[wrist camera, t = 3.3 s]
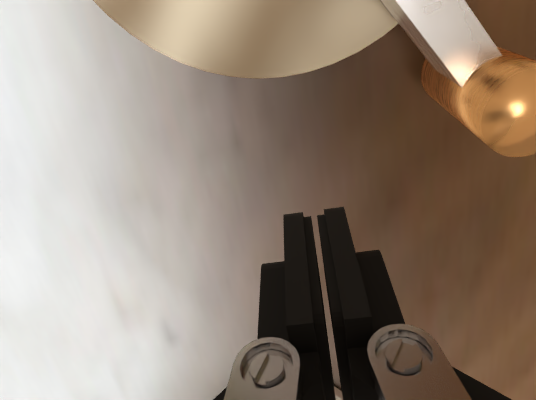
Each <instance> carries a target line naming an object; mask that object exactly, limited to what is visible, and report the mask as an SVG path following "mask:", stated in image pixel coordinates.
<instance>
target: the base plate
mask: <svg viewBox="0 0 536 400" xmlns="http://www.w3.org/2000/svg"><path fill="white" fill-rule="evenodd" d="M93 1H94V2H95V3H96V4H97V5H98V6H99V7H100V8H101V9H102V10H103V11H104V12H105V13H106V14H107V15H108V16H109V17H110V18H112V19H113V20H114V21H115V22H116V23H118V24H119V25H120V26H121V27H122V28H124V29H125V30H126V31H127V32H128V33H130V34H131V35H133V36H134V37H136V38H137V39H139V40H140V41H142V42H143V43H145V44H146V45H148V46H149V47H151V48H152V49H154V50H156V51H158V52H160V53H162V54H164V55H166V56H168V57H170V58H172V59H174V60H176V61H178V62H180V63H183V64H186V65H189V66H192V67H194V68H197V69H200V70H203V71H206V72H211V73H216V74H221V75H225V76H230V77H242V78H256V79H258V78H275V77H286V76H291V75H296V74H301V73H306V72H310V71H313V70H316V69H319V68H322V67H325V66H328V65H331V64H334V63H336V62H338V61H340V60H342V59H345V58H347V57H349V56H351V55H353V54H355V53H357V52H359V51H361V50H362V49H364V48H365V47H367V46H368V45H370V44H372V43H373V42H375V41H376V40H378V39H379V38H381V37H382V36H384V35H385V34H386V33H388V32H389V31H390V30H391V29H392V28H394V27H395V26H396V25H397V24H398V22H397V20H396V19H395V18H394V17H393V15H392V14H391V13H390V11H389V10H388V9H387V8H386V6H385V5H384V4H383V2H382V1H381V0H93Z"/></svg>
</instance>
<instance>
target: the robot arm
mask: <svg viewBox="0 0 536 400" xmlns="http://www.w3.org/2000/svg"><path fill="white" fill-rule="evenodd" d="M324 214H325V215H318V216H317V218H318V226H319V233H320V241H321V248H322V256H323V263H324V271H325V278H326V286H327V293H328V300H329V307H330V314H331V321H332V328H333V335H334V341H335V348H336V355H337V362H338V369H339V376H340V383H341V389H342V391H340V390H339V389H338V388H336V387H335V386H334V383H333V375H332V367H331V359H330V352H329V344H328V336H327V329H326V321H325V313H324V305H323V298H322V290H321V283H320V276H319V269H318V262H317V255H316V248H315V241H314V234H313V227H312V220H311V216H310V217H303V212H301V213H294V214H286V215H284V259H285V261H283V262H275V263H266V264H262V267H261V282H260V302H259V321H258V340H255V341H252V342H251V343H249V344H248V345H246V346H245V347H244V348H243V349H242V350H241V351H240V352H239V353H238V355H237V357H236V359H235V361H234V364H233V367H232V371H231V375H230V378H229V382H228V386H227V387H226V388H225V389H224V390H223V391H222V392H221V393H220V394H219V395H218V396H217V397H216V398H215V399H213V400H511V399H510V398H508V397H506V396H504V395H502V394H501V393H499V392H497V391H495V390H493V389H491V388H490V387H488V386H486V385H484V384H482V383H481V382H479V381H477V380H475V379H473V378H472V377H470V376H468V375H466V374H464V373H462V372H461V371H459V370H457V369H455V368H453V367H452V366H451V365H450V363H449V361H448V360H447V358H446V356H445V355H444V353H443V352H442V350H441V348H440V347H439V345H438V343H437V342H436V341H435V340H434V339H433V337H432V336H431V335H429V334H428V333H427V332H425V331H424V330H422V329H420V328H417V327H415V326H412V325H406V324H405V322H404V319H403V316H402V313H401V310H400V307H399V305H398V302H397V299H396V296H395V293H394V290H393V287H392V284H391V281H390V278H389V275H388V272H387V269H386V267H385V264H384V261H383V258H382V255H381V252H380V251H379V250H373V251H365V252H357V253H355V249H354V245H353V241H352V237H351V233H350V229H349V226H348V222H347V218H346V214H345V210H344V207H339V208H331V209H324Z"/></svg>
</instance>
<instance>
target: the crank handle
mask: <svg viewBox="0 0 536 400" xmlns="http://www.w3.org/2000/svg"><path fill="white" fill-rule="evenodd" d="M381 1H382V2H383V4H384V5H385V6H386V8H387V9H388V10H389V11H390V13H391V14H392V15H393V17H394V18H395V19H396V20H397V22H398V23H399V24H400V26H401V27H402V28H403V29H404V31H405V32H406V33H407V35H408V36H409V37H410V38H411V40H412V41H413V42H414V44H415V45H416V46H417V47H418V49H419V50H420V51H421V53H422V54H423V55H424V57H425V58H426V59H425V61H424V64H423V67H422V72H421V80H422V85H423V87H424V89H425V91H426V92H427V94H428V95H429V96H430V97H431V98H433V99H434V100H435V101H436V102H437V103H438V104H440V105H441V106H442V107H443V108H444V109H446V110H447V111H448V112H449V113H450V114H451V115H453V116H454V117H455V118H456V119H457V120H458V121H460V122H461V123H462V124H463V125H464V126H465V127H467V128H468V129H469V130H470V131H471V132H472V133H474V134H475V135H476V136H477V137H478V138H479V139H481V140H482V141H483V142H484V143H485V144H486V145H488V146H489V147H490V148H491V149H492V150H494V151H495V152H497V153H499V154H501V155H504V156H509V157H524V156H529V155H532V154H535V153H536V61H535V60H532V59H529V58H527V57H524V56H521V55H519V54H516V53H513V52H510V51H508V50H505V49H502V48H500V47H497V46H496V45H495V44H494V42H493V41H492V40H491V38H490V37H489V35H488V34H487V32H486V31H485V29H484V28H483V27H482V25H481V24H480V22H479V21H478V19H477V18H476V16H475V15H474V13H473V12H472V11H471V9H470V8H469V6H468V5H467V3H466V2H465V0H381Z"/></svg>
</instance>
